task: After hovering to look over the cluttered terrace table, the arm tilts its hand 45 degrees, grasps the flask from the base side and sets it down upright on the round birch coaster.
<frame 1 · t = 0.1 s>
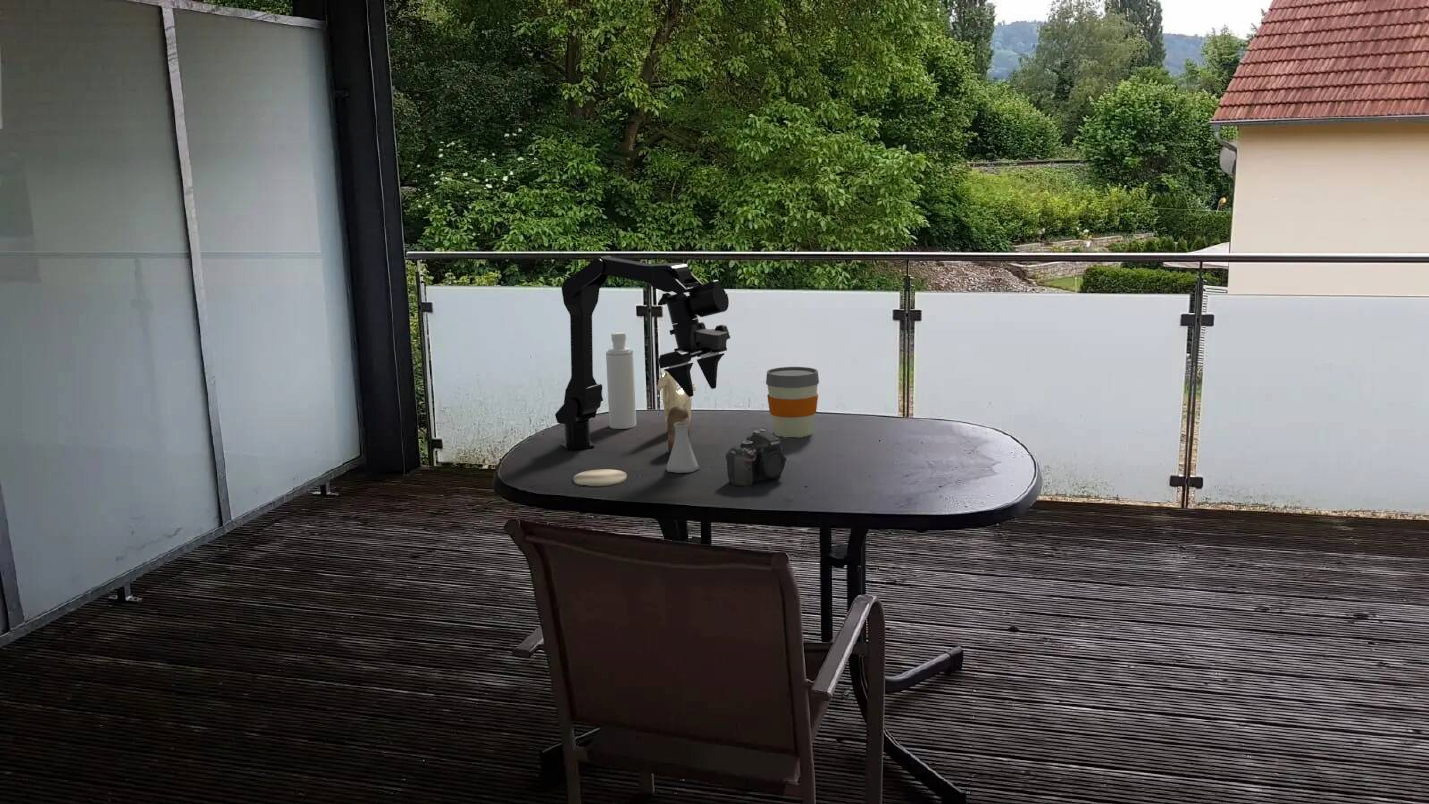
hand: (702, 392, 245), 15 cm above the table, tool pointing down, fingers open, 9 cm apart
coaster: (600, 479, 238), on the table
pepper shaker: (679, 451, 258), on the table
camera: (759, 480, 234), on the table
flask: (682, 470, 243), on the table
reusable coffee cup: (793, 434, 273), on the table
unicorn: (678, 431, 279), on the table
spray bottle: (623, 426, 286), on the table
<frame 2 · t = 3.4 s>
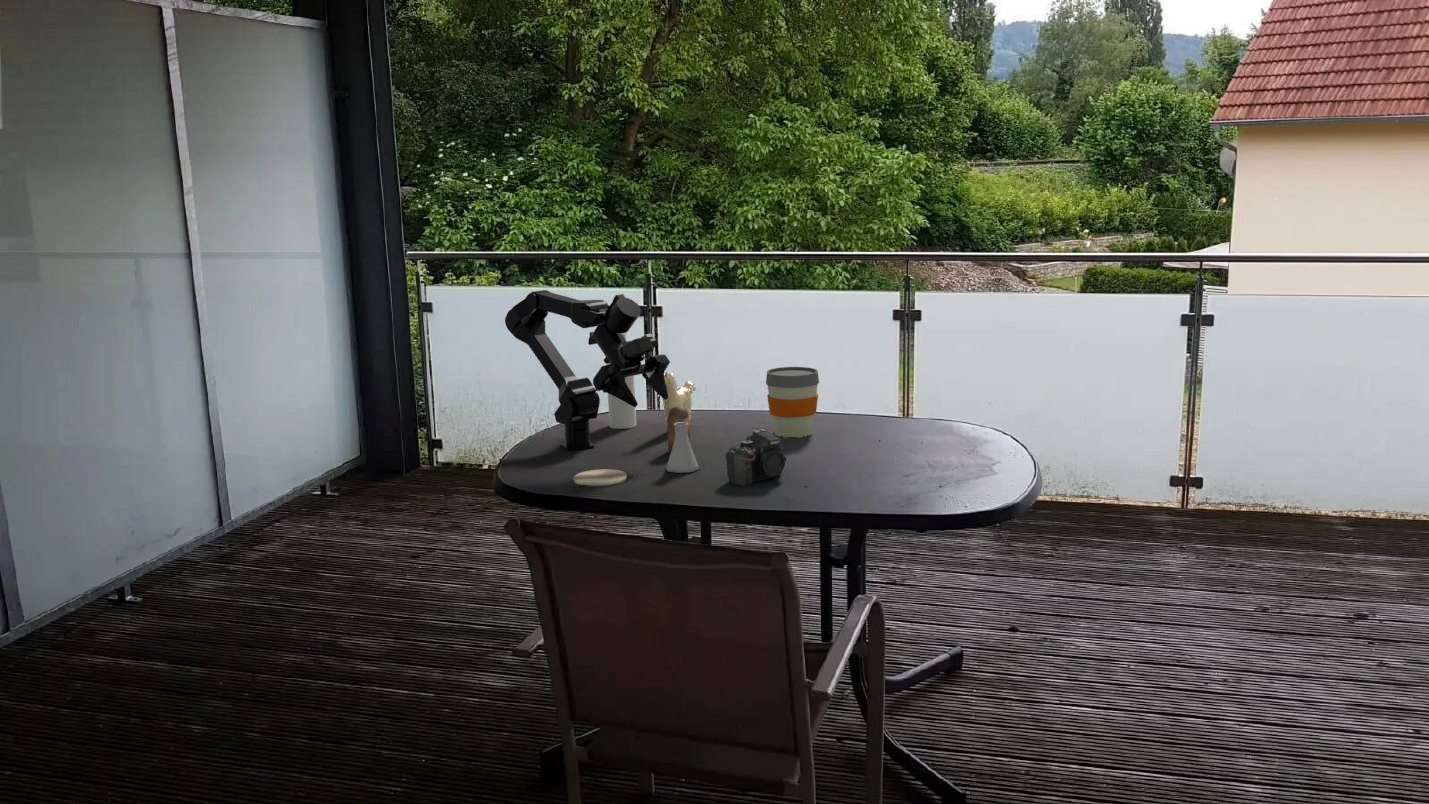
hand: (651, 402, 246), 14 cm above the table, tool tilted 45°, fingers open, 9 cm apart
nothing on the table moved.
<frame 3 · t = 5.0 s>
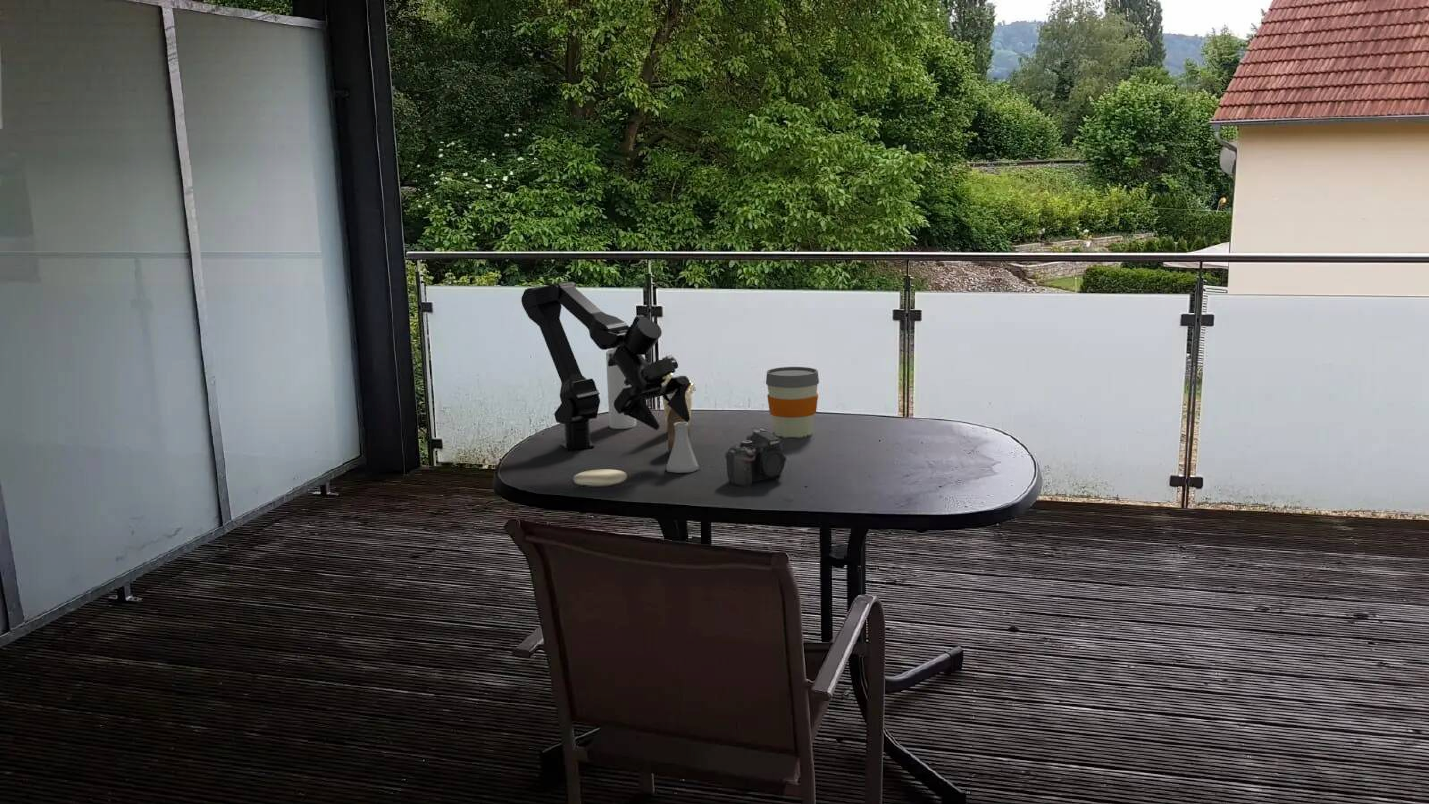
hand: (673, 424, 243), 9 cm above the table, tool tilted 45°, fingers open, 9 cm apart
nothing on the table moved.
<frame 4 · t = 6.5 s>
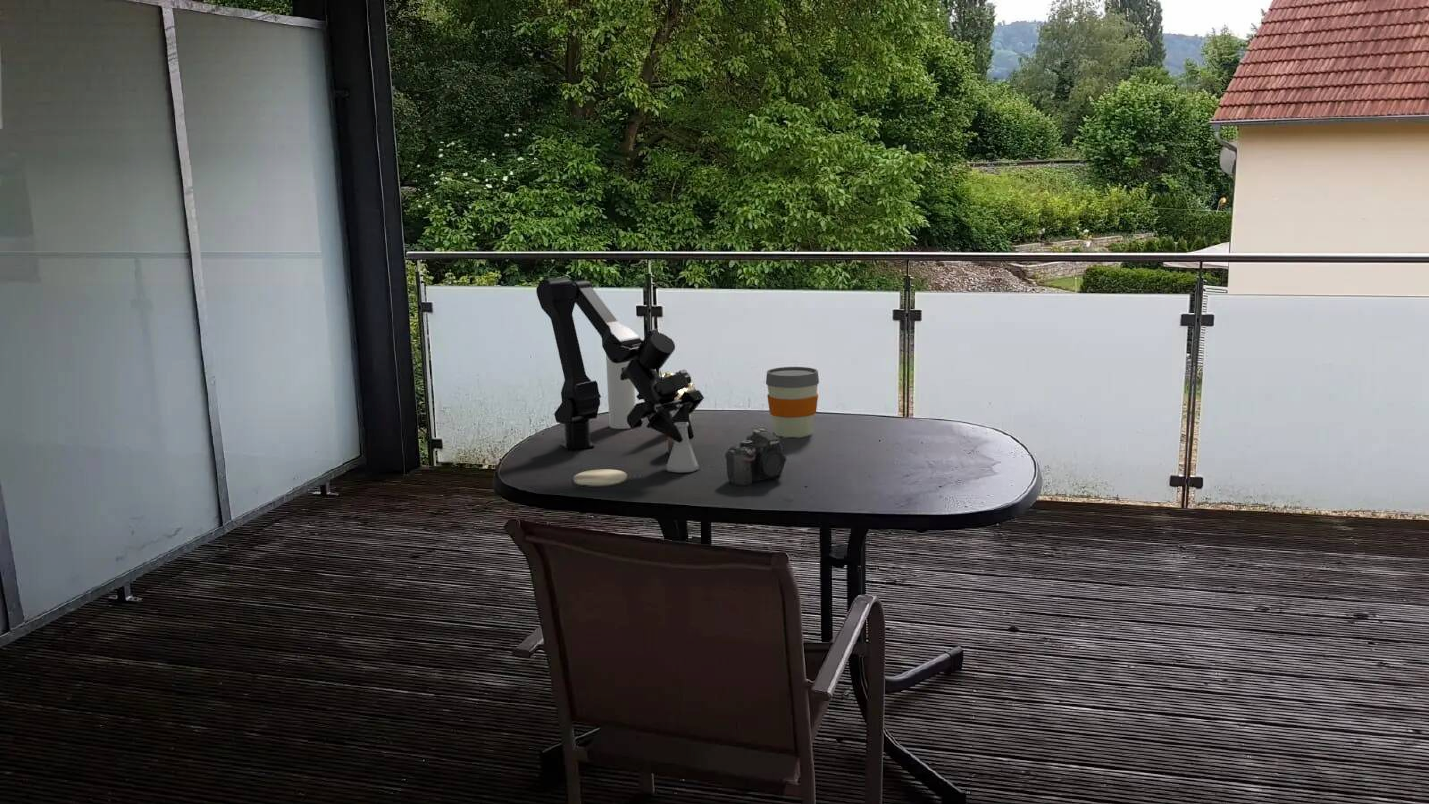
hand: (686, 439, 241), 7 cm above the table, tool tilted 45°, fingers closed on flask, 3 cm apart
flask: (682, 470, 243), on the table, touching gripper
everything else where it was.
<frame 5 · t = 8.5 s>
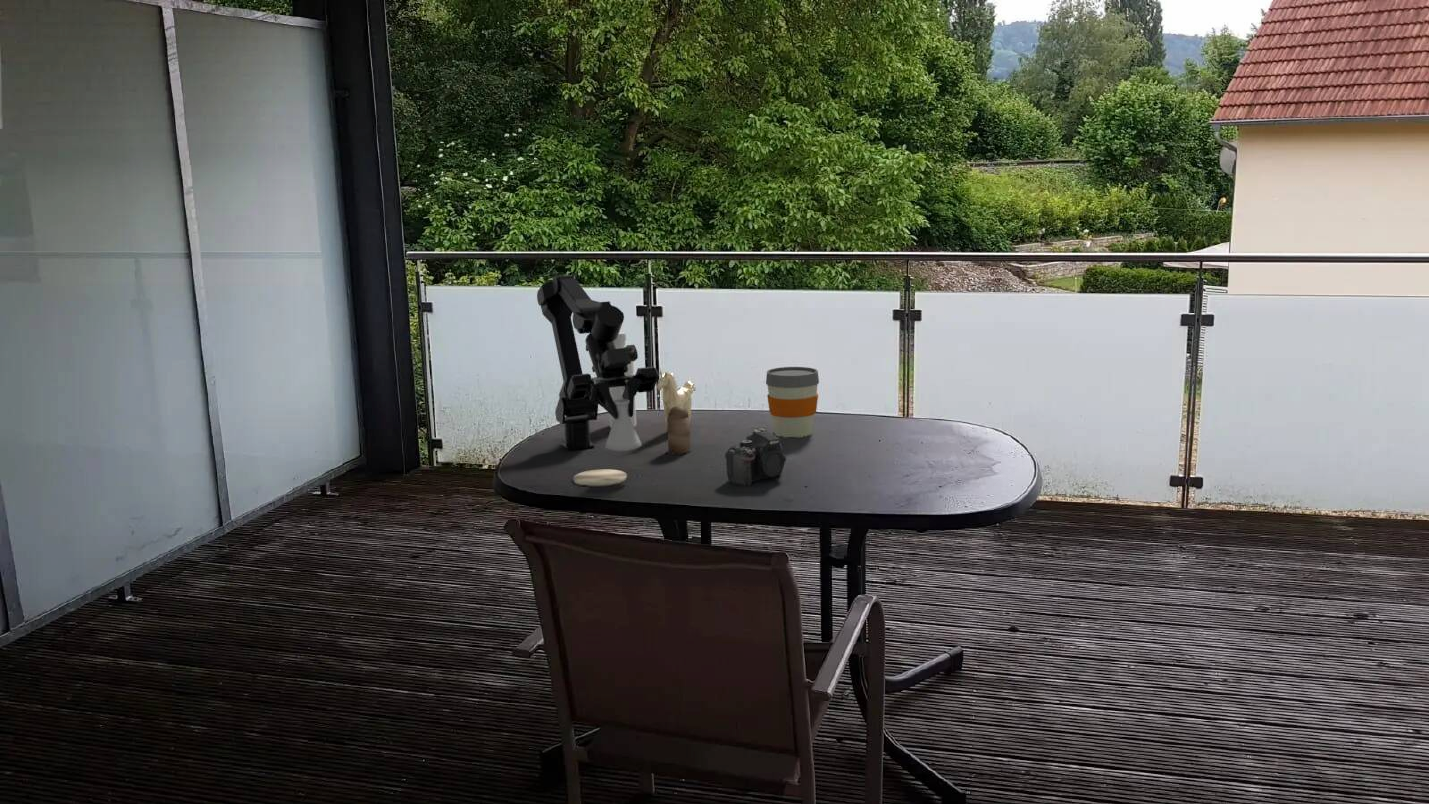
hand: (624, 416, 234), 13 cm above the table, tool tilted 45°, fingers closed on flask, 3 cm apart
flask: (623, 448, 237), point 6 cm above the table, touching gripper
everything else where it was.
when the fingers open (8 cm above the table, at t = 10.2 s): flask stays where it is, resting on coaster.
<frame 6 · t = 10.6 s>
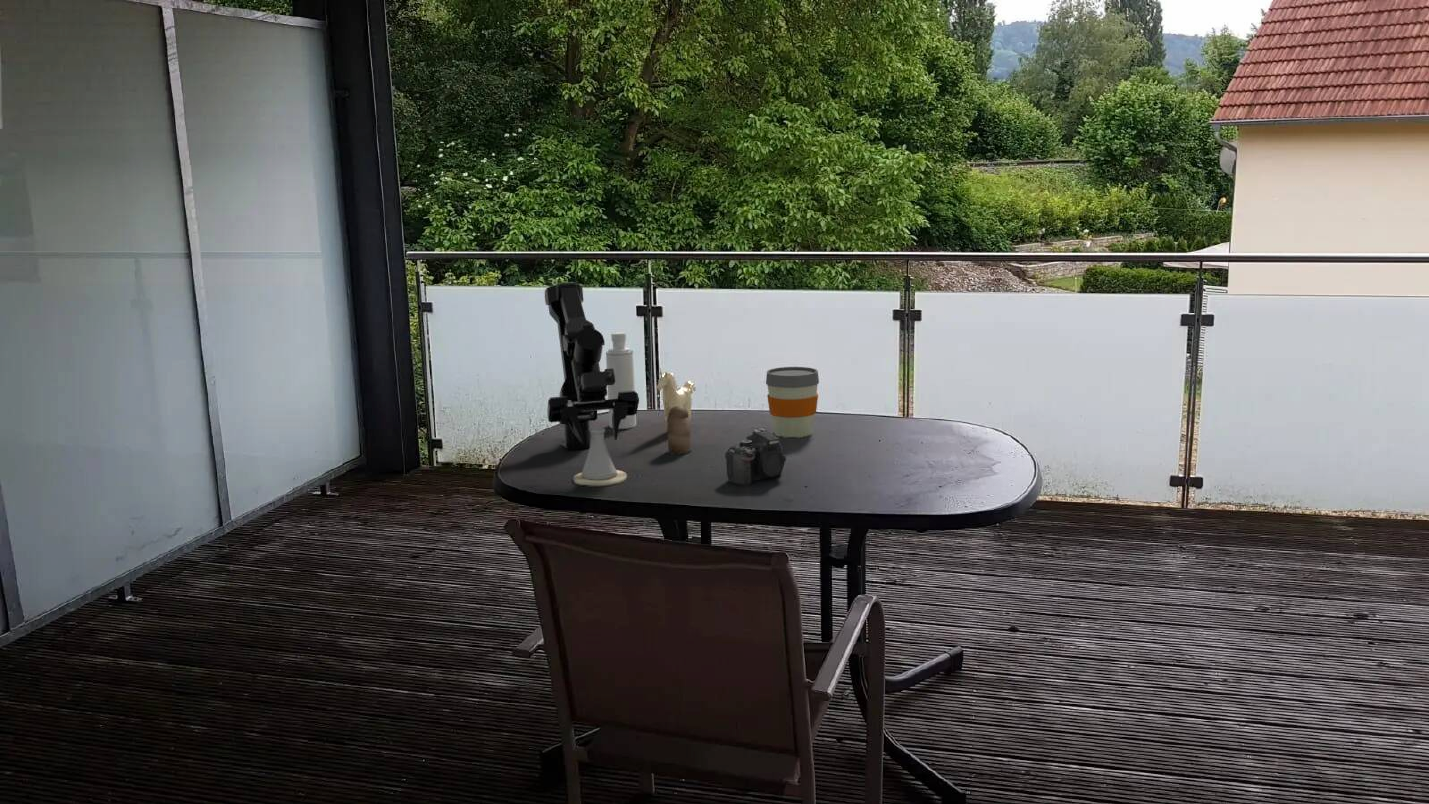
hand: (599, 440, 234), 9 cm above the table, tool tilted 45°, fingers open, 7 cm apart
flask: (599, 477, 238), resting on coaster
everything else where it was.
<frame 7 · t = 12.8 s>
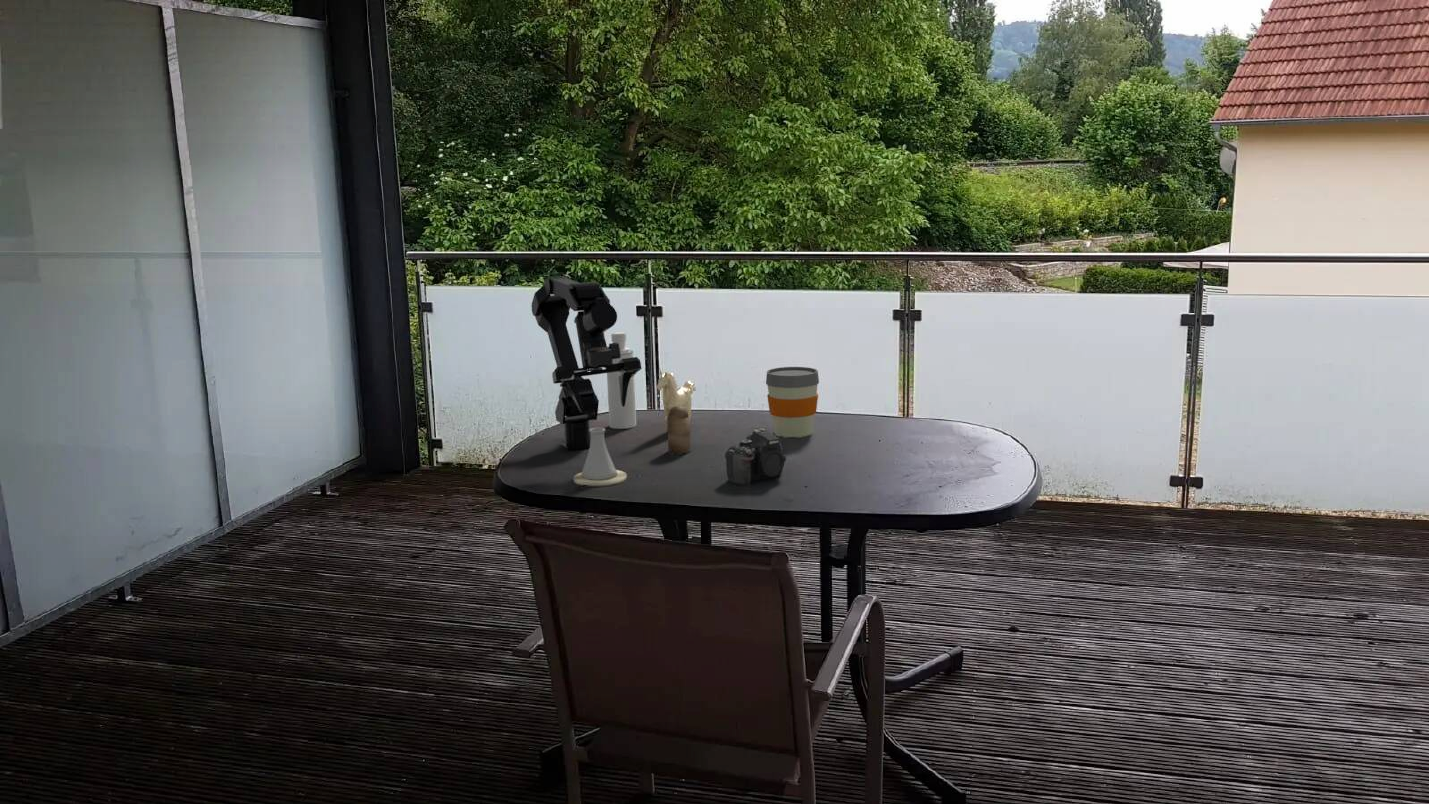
hand: (602, 409, 247), 12 cm above the table, tool tilted 20°, fingers open, 9 cm apart
nothing on the table moved.
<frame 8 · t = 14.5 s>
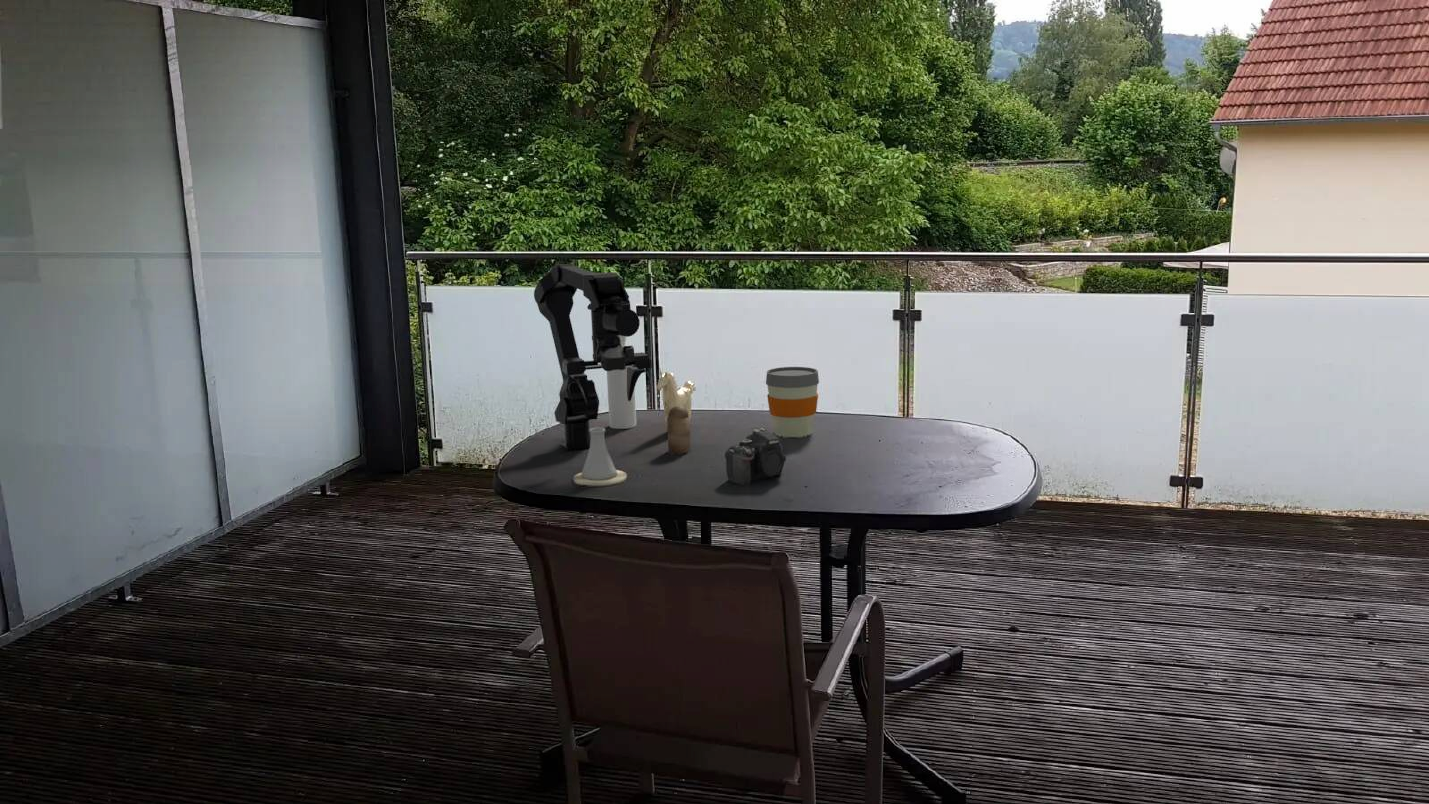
hand: (608, 402, 250), 13 cm above the table, tool pointing down, fingers open, 9 cm apart
nothing on the table moved.
at the end: flask 0.2 cm from the coaster (horizontally); flask tilted 0°; the gripper is holding nothing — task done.
